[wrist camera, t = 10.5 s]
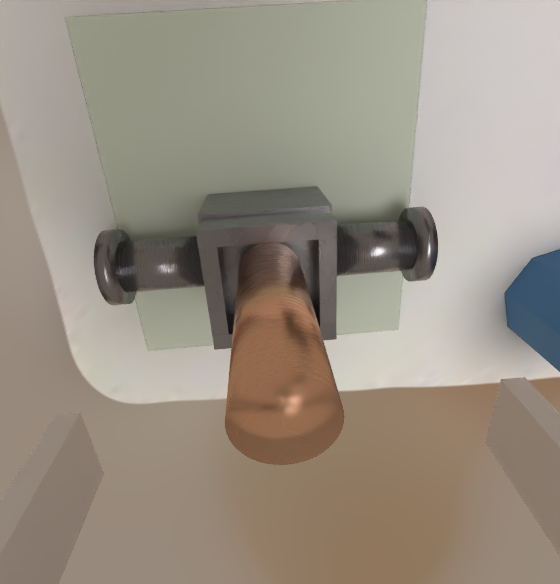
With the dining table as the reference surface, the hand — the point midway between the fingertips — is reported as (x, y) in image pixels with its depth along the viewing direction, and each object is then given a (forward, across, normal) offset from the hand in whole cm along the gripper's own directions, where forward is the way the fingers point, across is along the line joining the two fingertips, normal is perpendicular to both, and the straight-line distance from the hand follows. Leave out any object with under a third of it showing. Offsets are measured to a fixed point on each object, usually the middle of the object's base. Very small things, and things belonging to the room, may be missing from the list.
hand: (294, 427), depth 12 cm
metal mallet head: (+19, -1, -2) cm, 20 cm away
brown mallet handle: (+14, 0, 0) cm, 14 cm away
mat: (+20, -1, +2) cm, 20 cm away
